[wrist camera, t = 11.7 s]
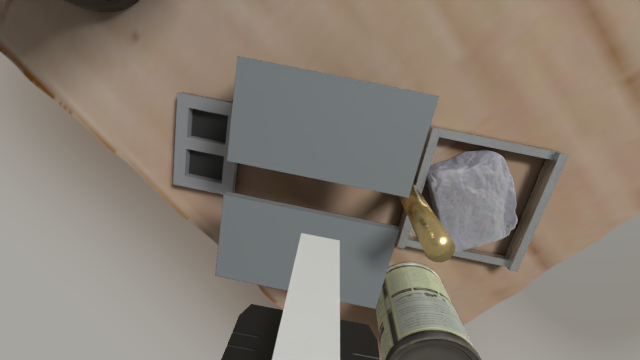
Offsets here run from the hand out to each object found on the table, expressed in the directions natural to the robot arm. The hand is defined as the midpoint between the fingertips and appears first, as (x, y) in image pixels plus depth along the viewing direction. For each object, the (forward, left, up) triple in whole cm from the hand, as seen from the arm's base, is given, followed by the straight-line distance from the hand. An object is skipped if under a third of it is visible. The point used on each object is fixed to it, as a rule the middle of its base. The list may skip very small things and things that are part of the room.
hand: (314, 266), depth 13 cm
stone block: (+4, +19, -30) cm, 35 cm away
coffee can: (+20, +15, -30) cm, 39 cm away
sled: (+4, +18, -29) cm, 34 cm away
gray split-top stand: (+4, -1, -30) cm, 30 cm away
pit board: (+4, -16, -30) cm, 34 cm away
